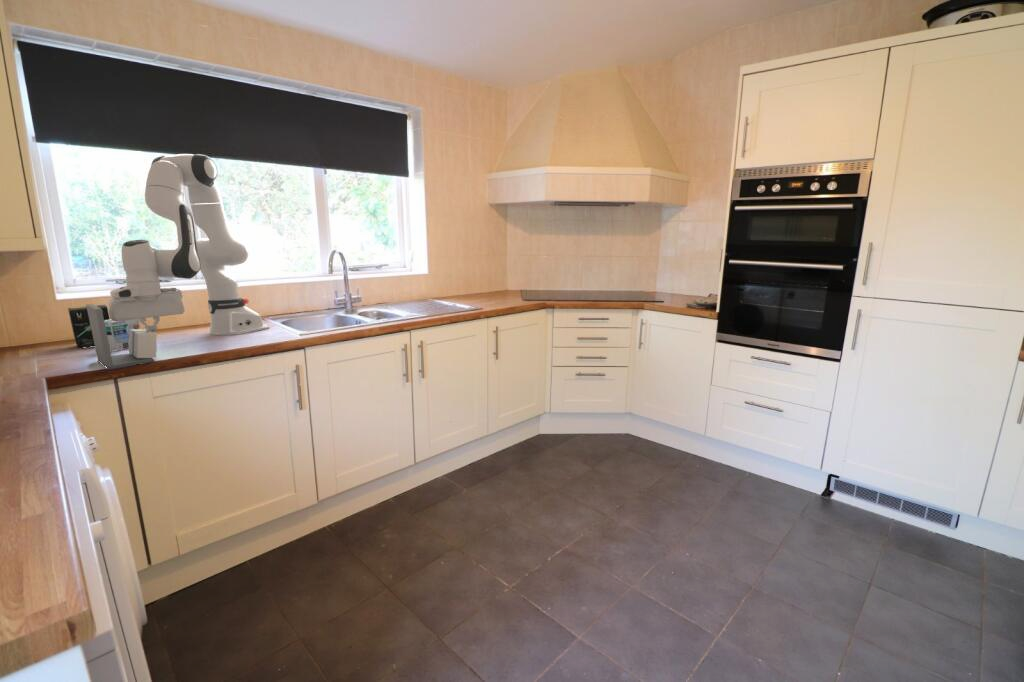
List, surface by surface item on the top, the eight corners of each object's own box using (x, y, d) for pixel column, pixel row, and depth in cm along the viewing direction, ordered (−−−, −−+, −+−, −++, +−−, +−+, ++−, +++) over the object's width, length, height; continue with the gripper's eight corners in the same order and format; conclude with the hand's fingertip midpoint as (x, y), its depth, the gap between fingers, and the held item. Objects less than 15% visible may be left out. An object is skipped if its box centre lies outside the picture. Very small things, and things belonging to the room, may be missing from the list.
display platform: (142, 354, 168) (132, 300, 164) (154, 361, 158) (143, 304, 154) (98, 361, 159) (86, 304, 155) (107, 369, 149) (95, 309, 145)
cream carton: (147, 329, 167) (129, 329, 163) (156, 333, 159) (137, 333, 155) (146, 352, 167) (128, 352, 164) (156, 357, 160) (137, 358, 156)
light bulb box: (116, 351, 173) (110, 321, 170) (101, 350, 174) (95, 321, 172) (144, 344, 183) (139, 316, 180) (130, 343, 184) (124, 316, 182)
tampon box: (112, 340, 190) (105, 304, 187) (115, 344, 184) (107, 306, 180) (75, 345, 183) (67, 307, 179) (77, 349, 176) (68, 310, 173)
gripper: (178, 286, 169) (184, 324, 172) (103, 292, 154) (112, 334, 157) (183, 287, 165) (189, 327, 168) (107, 293, 150) (116, 336, 153)
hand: (151, 330), depth 163 cm, fingers closed
